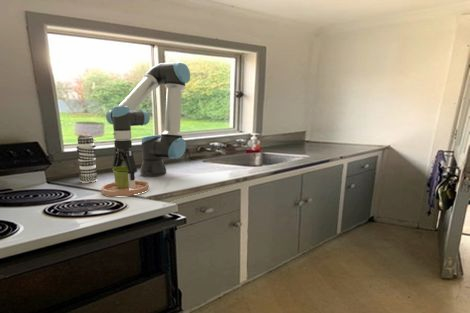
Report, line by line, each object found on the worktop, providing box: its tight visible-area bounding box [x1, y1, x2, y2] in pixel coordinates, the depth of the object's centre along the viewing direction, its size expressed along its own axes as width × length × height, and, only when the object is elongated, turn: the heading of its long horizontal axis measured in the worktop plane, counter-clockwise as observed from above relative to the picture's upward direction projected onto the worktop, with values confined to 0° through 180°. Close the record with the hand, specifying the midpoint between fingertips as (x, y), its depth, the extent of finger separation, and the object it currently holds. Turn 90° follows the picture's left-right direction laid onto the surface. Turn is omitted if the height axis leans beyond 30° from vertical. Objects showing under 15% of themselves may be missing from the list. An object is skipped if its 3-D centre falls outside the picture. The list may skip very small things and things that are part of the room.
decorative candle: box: [76, 133, 98, 184], centre depth 160 cm, size 9×9×25 cm
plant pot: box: [111, 165, 129, 188], centre depth 145 cm, size 9×9×9 cm
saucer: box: [100, 179, 150, 197], centre depth 144 cm, size 21×21×2 cm
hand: (125, 184), depth 143 cm, fingers open, 13 cm apart
